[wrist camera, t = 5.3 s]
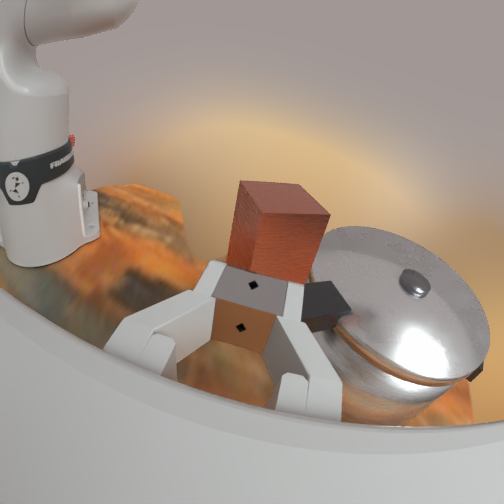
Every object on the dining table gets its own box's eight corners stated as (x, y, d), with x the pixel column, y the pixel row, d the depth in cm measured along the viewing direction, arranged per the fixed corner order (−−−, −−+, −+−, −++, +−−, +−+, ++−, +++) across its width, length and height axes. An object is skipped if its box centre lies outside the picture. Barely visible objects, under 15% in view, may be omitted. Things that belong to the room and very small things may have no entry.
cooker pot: (444, 359, 28) (489, 305, 23) (401, 475, 16) (480, 432, 10) (292, 259, 41) (311, 197, 35) (194, 319, 29) (200, 239, 23)
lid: (405, 235, 32) (430, 176, 27) (503, 342, 18) (550, 277, 13) (197, 238, 23) (209, 138, 18) (281, 482, 9) (394, 417, 4)
